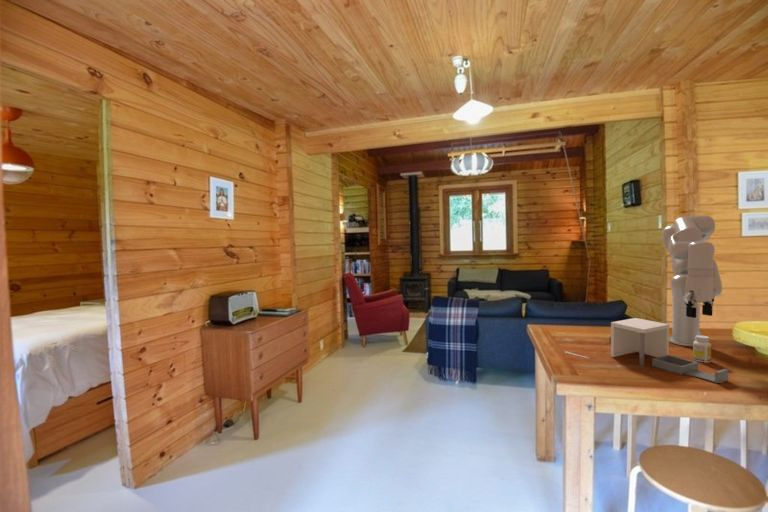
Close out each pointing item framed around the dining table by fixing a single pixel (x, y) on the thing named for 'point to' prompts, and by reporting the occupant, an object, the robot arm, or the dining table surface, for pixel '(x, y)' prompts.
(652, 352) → the counter
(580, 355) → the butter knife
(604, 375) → the dining table surface
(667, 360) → the tray
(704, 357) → the supplement bottle
